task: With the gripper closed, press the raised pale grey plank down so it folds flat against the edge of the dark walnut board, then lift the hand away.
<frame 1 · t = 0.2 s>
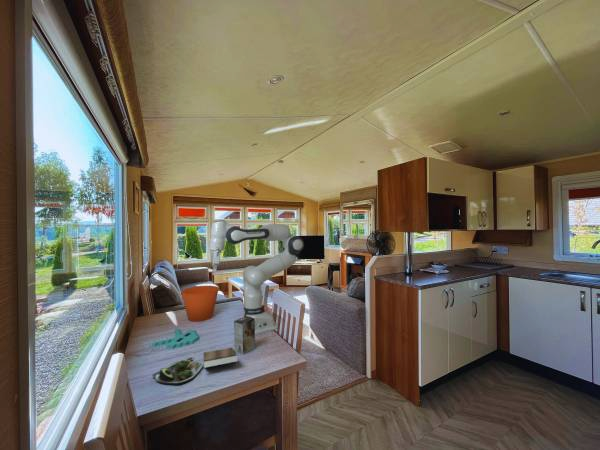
hand: (214, 270, 151), 39 cm above the table, tool pointing down, fingers open, 8 cm apart
grey plank: (220, 361, 116), point 3 cm above the table, hinge at 25.0°
flowerpot: (200, 317, 180), on the table
alien figure: (180, 341, 145), on the table
coffee box: (244, 350, 133), on the table
salad plate: (178, 375, 111), on the table
walnut board: (219, 358, 124), on the table
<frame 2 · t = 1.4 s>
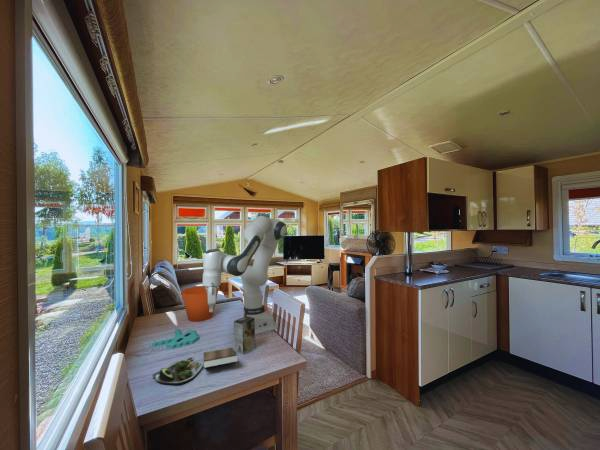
hand: (210, 308, 128), 23 cm above the table, tool pointing down, fingers open, 8 cm apart
nothing on the table moved.
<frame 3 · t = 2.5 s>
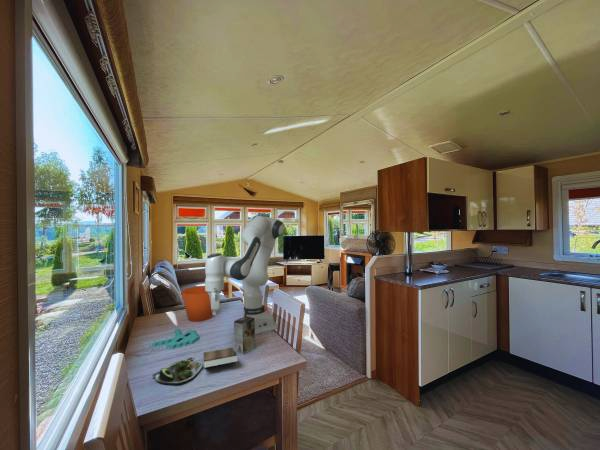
hand: (214, 314, 126), 21 cm above the table, tool pointing down, fingers closed
nothing on the table moved.
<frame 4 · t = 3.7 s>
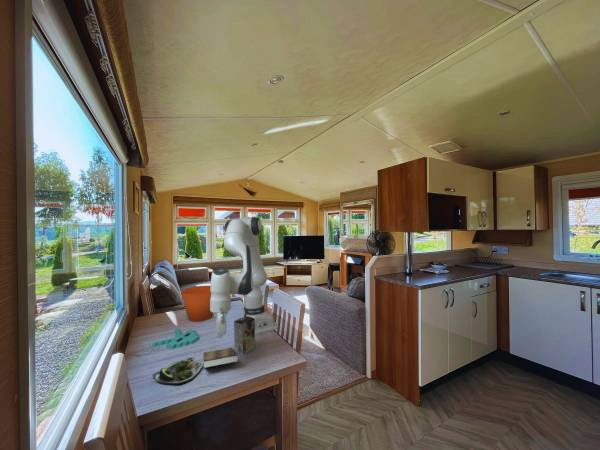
hand: (219, 337, 113), 15 cm above the table, tool pointing down, fingers closed
nothing on the table moved.
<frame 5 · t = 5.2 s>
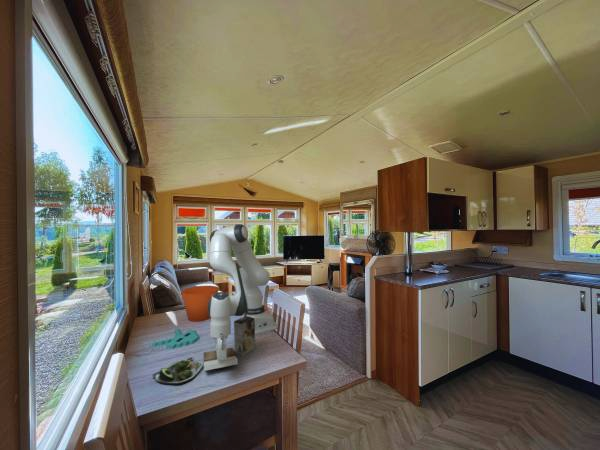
hand: (220, 361, 113), 5 cm above the table, tool pointing down, fingers closed
grey plank: (220, 363, 116), point 2 cm above the table, hinge at 17.0°, touching gripper
everything else where it was.
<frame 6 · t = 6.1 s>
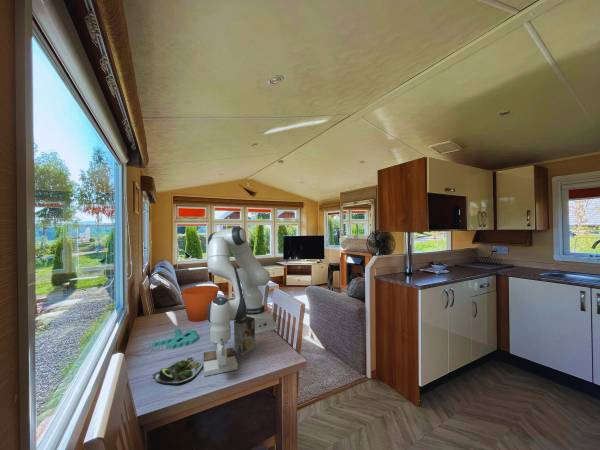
hand: (220, 366, 113), 2 cm above the table, tool pointing down, fingers closed, pressing on grey plank
grey plank: (220, 365, 116), point 1 cm above the table, hinge at 2.1°, touching gripper
everything else where it was.
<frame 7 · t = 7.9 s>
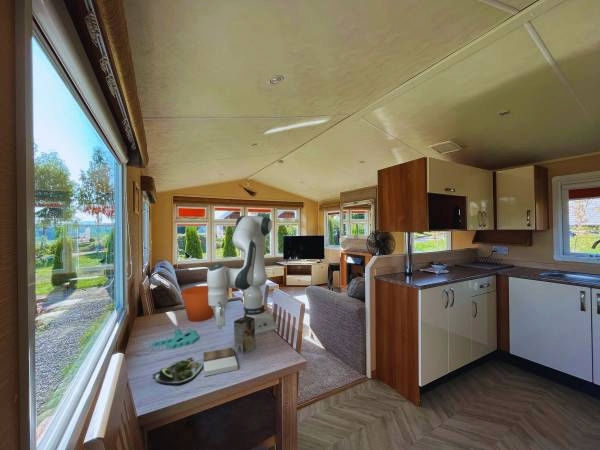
hand: (219, 328, 119), 17 cm above the table, tool pointing down, fingers closed
grey plank: (220, 365, 116), point 1 cm above the table, hinge at 1.6°
everything else where it was.
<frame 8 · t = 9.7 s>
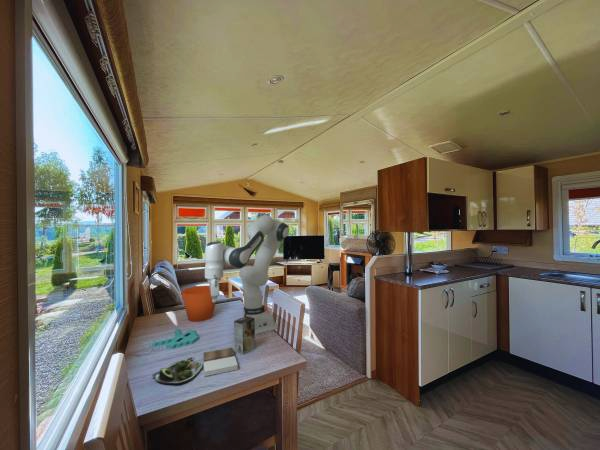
hand: (214, 301, 127), 27 cm above the table, tool pointing down, fingers closed
nothing on the table moved.
at the end: grey plank at +2° (first picture: +25°); salad plate moved 0.6 cm from its start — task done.
